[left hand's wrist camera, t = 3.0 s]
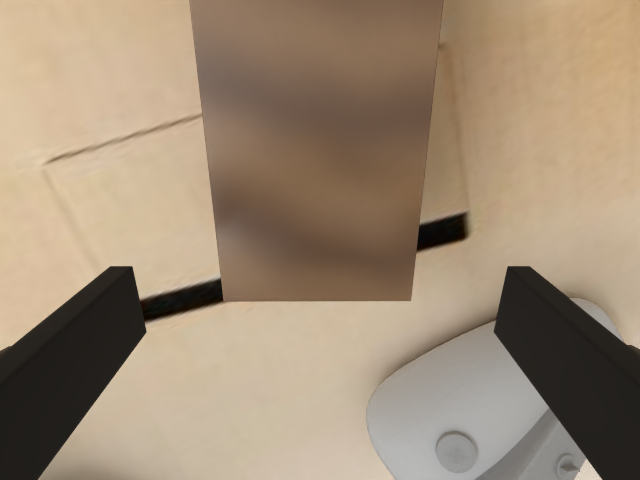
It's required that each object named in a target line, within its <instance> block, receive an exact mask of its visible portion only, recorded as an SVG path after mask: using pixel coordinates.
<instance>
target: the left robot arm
mask: <svg viewBox="0 0 640 480" xmlns="http://www.w3.org/2000/svg"><path fill="white" fill-rule="evenodd" d="M145 333H146V327H145V323H144V318H143V313H142V309H141V304H140V300H139V295H138V290H137V286H136V281H135V277H134V272H133V267H132V266H110V267H109V268H108V269H107V270H105V271H104V272H103V273H102V274H100V275H99V276H98V277H97V278H95V279H94V280H93V281H92V282H90V283H89V284H88V285H87V286H85V287H84V288H83V289H82V290H81V291H79V292H78V293H77V294H76V295H74V296H73V297H72V298H71V299H69V300H68V301H67V302H66V303H64V304H63V305H62V306H61V307H59V308H58V309H57V310H56V311H55V312H53V313H52V314H51V315H50V316H48V317H47V318H46V319H45V320H43V321H42V322H41V323H40V324H38V325H37V326H36V327H35V328H33V329H32V330H31V331H30V332H29V333H27V334H26V335H25V336H24V337H22V338H21V339H20V340H19V341H17V342H16V343H15V344H14V345H12V346H9V347H7V348H5V349H3V350H1V351H0V480H38V478H39V477H40V476H41V474H42V473H43V472H44V470H45V469H46V468H47V466H48V465H49V463H50V462H51V461H52V459H53V458H54V457H55V455H56V454H57V453H58V451H59V450H60V449H61V447H62V446H63V445H64V443H65V442H66V440H67V439H68V438H69V436H70V435H71V434H72V432H73V431H74V430H75V428H76V427H77V426H78V424H79V423H80V422H81V420H82V419H83V417H84V416H85V415H86V413H87V412H88V411H89V409H90V408H91V407H92V405H93V404H94V403H95V401H96V400H97V398H98V397H99V396H100V394H101V393H102V392H103V390H104V389H105V388H106V386H107V385H108V384H109V382H110V381H111V380H112V378H113V377H114V375H115V374H116V373H117V371H118V370H119V369H120V367H121V366H122V365H123V363H124V362H125V361H126V359H127V358H128V356H129V355H130V354H131V352H132V351H133V350H134V348H135V347H136V346H137V344H138V343H139V342H140V340H141V339H142V338H143V336H144V335H145ZM494 333H495V335H496V336H497V338H498V339H499V340H500V342H501V343H502V344H503V346H504V347H505V348H506V350H507V351H508V352H509V354H510V355H511V356H512V358H513V359H514V361H515V362H516V363H517V365H518V366H519V367H520V369H521V370H522V371H523V373H524V374H525V375H526V377H527V378H528V380H529V381H530V382H531V384H532V385H533V386H534V388H535V389H536V390H537V392H538V393H539V394H540V396H541V397H542V398H543V400H544V401H545V403H546V404H547V405H548V407H549V408H550V409H551V411H552V412H553V413H554V415H555V416H556V417H557V419H558V420H559V422H560V423H561V424H562V426H563V427H564V428H565V430H566V431H567V432H568V434H569V435H570V436H571V438H572V439H573V440H574V442H575V443H576V445H577V446H578V447H579V449H580V450H581V451H582V453H583V454H584V455H585V457H586V458H587V459H588V461H589V462H590V463H591V465H592V466H593V468H594V469H595V470H596V472H597V473H598V474H599V476H600V477H601V478H602V480H640V349H638V348H636V347H634V346H632V345H626V344H625V343H624V342H623V341H621V340H620V339H619V338H618V337H616V336H615V335H614V334H613V333H611V332H610V331H609V330H608V329H607V328H605V327H604V326H603V325H602V324H600V323H599V322H598V321H597V320H595V319H594V318H593V317H592V316H590V315H589V314H588V313H587V312H585V311H584V310H583V309H582V308H581V307H579V306H578V305H577V304H576V303H574V302H573V301H572V300H571V299H569V298H568V297H567V296H566V295H564V294H563V293H562V292H561V291H559V290H558V289H557V288H556V287H555V286H553V285H552V284H551V283H550V282H548V281H547V280H546V279H545V278H543V277H542V276H541V275H540V274H538V273H537V272H536V271H535V270H533V269H532V268H531V267H530V266H508V267H507V272H506V277H505V281H504V286H503V290H502V295H501V300H500V304H499V309H498V313H497V318H496V323H495V327H494Z"/></svg>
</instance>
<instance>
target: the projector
mask: <svg viewBox="0 0 640 480" xmlns="http://www.w3.org/2000/svg"><path fill="white" fill-rule="evenodd" d="M569 299H571V300H572V301H573V302H574V303H576V304H577V305H578V306H579V307H581V308H582V309H583V310H584V311H585V312H587V313H588V314H589V315H590V316H592V317H593V318H594V319H595V320H597V321H598V322H599V323H600V324H602V325H603V326H604V327H605V328H607V329H608V330H609V331H610V332H611V333H613V334H614V335H615V336H616V337H618V338H619V339H620V340H621V341H623V339H622V337H621V335H620V333H619V331H618V330H617V328H616V326H615V325H614V323H613V322H612V320H611V319H610V318H609V316H608V315H607V314H606V313H605V312H604V311H603V310H602V309H601V308H600V307H599V306H597V305H596V304H594V303H592V302H590V301H588V300H585V299H581V298H569ZM495 323H496V320H495V321H492V322H490V323H487V324H485V325H482V326H480V327H478V328H475V329H473V330H471V331H469V332H466V333H464V334H462V335H460V336H458V337H456V338H454V339H452V340H450V341H448V342H446V343H444V344H442V345H440V346H438V347H436V348H434V349H432V350H430V351H429V352H427V353H425V354H423V355H421V356H420V357H418V358H416V359H415V360H413V361H411V362H410V363H408V364H406V365H405V366H403V367H402V368H400V369H399V370H397V371H396V372H394V373H393V374H392V375H390V376H389V377H388V378H386V379H385V380H384V381H383V382H382V383H381V384H380V385H379V386H378V387H377V388H376V390H375V391H374V392H373V394H372V396H371V398H370V400H369V402H368V405H367V411H366V422H367V428H368V432H369V436H370V439H371V442H372V444H373V447H374V449H375V451H376V453H377V454H378V456H379V458H380V459H381V461H382V462H383V464H384V465H385V466H386V468H387V469H388V471H389V472H390V473H391V475H392V476H393V477H394V478H395V480H574V478H575V477H576V475H577V473H578V472H580V468H581V466H582V465H583V463H584V461H585V460H586V457H585V455H584V454H583V453H582V451H581V450H580V449H579V447H578V446H577V445H576V443H575V442H574V440H573V439H572V438H571V436H570V435H569V434H568V432H567V431H566V430H565V428H564V427H563V426H562V424H561V423H560V422H559V420H558V419H557V417H556V416H555V415H554V413H553V412H552V411H551V409H550V408H549V407H548V405H547V404H546V403H545V401H544V400H543V398H542V397H541V396H540V394H539V393H538V392H537V390H536V389H535V388H534V386H533V385H532V384H531V382H530V381H529V380H528V378H527V377H526V375H525V374H524V373H523V371H522V370H521V369H520V367H519V366H518V365H517V363H516V362H515V361H514V359H513V358H512V356H511V355H510V354H509V352H508V351H507V350H506V348H505V347H504V346H503V344H502V343H501V342H500V340H499V339H498V338H497V336H496V335H495V333H494V327H495ZM623 342H624V341H623Z"/></svg>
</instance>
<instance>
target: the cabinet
mask: <svg viewBox="0 0 640 480" xmlns="http://www.w3.org/2000/svg"><path fill="white" fill-rule="evenodd" d="M189 1H190V10H191V19H192V28H193V36H194V45H195V54H196V63H197V71H198V80H199V89H200V98H201V107H202V115H203V124H204V133H205V142H206V150H207V159H208V168H209V177H210V185H211V194H212V203H213V212H214V221H215V229H216V238H217V247H218V256H219V264H220V273H221V282H222V291H223V299H224V301H411V295H412V286H413V277H414V268H415V258H416V249H417V240H418V231H419V221H420V212H421V203H422V194H423V184H424V175H425V166H426V157H427V147H428V138H429V129H430V119H431V110H432V101H433V92H434V82H435V73H436V64H437V55H438V45H439V36H440V27H441V18H442V8H443V0H189Z"/></svg>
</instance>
